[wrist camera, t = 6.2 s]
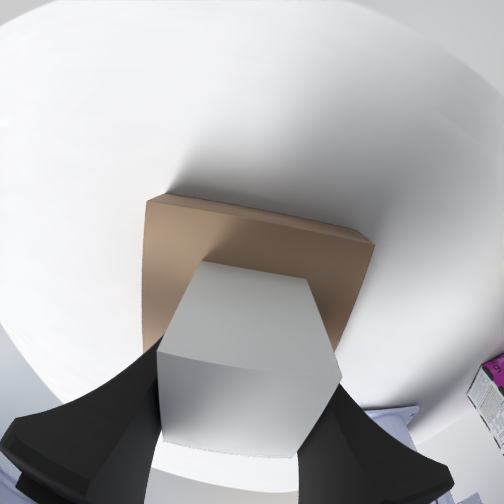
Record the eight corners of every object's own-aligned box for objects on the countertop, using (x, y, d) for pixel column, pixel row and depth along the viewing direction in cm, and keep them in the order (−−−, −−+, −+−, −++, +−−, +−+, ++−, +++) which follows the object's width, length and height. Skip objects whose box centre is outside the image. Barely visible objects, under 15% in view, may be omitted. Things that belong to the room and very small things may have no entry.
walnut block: (304, 368, 17) (310, 400, 14) (158, 344, 17) (144, 373, 14) (353, 227, 14) (374, 244, 11) (167, 192, 14) (146, 200, 11)
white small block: (281, 358, 13) (292, 458, 8) (192, 343, 13) (163, 441, 7) (306, 279, 12) (342, 377, 6) (201, 260, 12) (156, 350, 6)
